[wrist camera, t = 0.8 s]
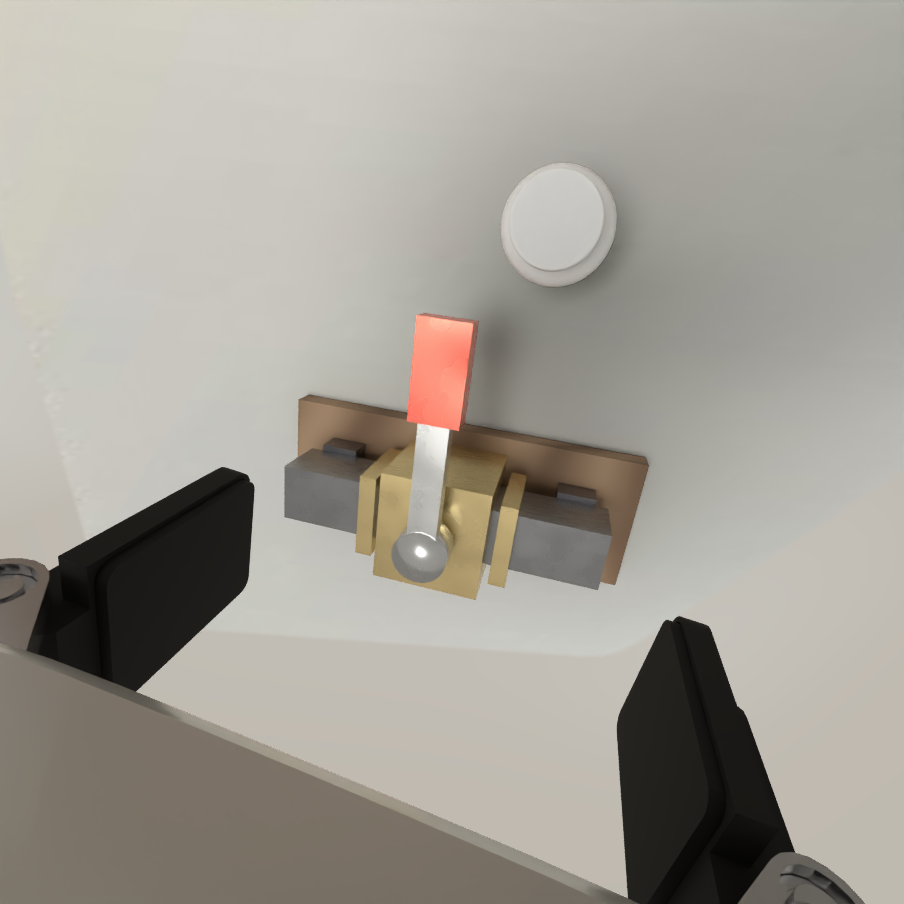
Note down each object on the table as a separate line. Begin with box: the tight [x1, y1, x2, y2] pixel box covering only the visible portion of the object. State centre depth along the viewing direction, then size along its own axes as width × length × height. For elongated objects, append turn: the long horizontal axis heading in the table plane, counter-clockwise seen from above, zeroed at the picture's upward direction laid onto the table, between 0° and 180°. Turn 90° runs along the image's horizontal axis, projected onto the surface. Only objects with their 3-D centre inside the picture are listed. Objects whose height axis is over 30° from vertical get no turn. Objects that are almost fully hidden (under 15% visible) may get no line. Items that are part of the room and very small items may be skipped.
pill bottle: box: [501, 163, 617, 287], centre depth 25 cm, size 5×5×10 cm
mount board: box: [298, 395, 649, 585], centre depth 36 cm, size 24×9×2 cm, turn 83°
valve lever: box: [391, 313, 479, 583], centre depth 26 cm, size 14×3×2 cm, turn 173°
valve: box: [285, 437, 612, 600], centre depth 32 cm, size 20×7×7 cm, turn 83°
